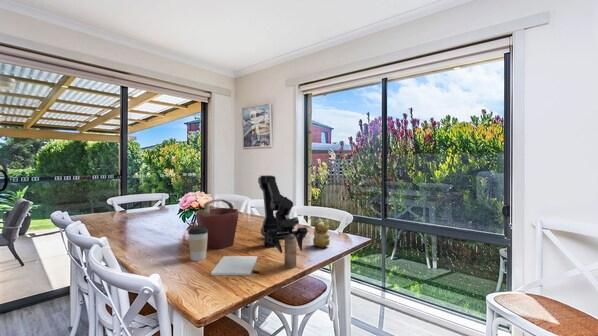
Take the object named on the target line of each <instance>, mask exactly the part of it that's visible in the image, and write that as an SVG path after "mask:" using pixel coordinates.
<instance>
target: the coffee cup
mask: <svg viewBox="0 0 598 336" xmlns="http://www.w3.org/2000/svg"><path fill="white" fill-rule="evenodd" d="M187 234H188V249H189V250H188V251H189V257H190V260H191V261H193V262H194V261H195V262H198V261H203V260H205V259H206V258H207V250H208V249H207V239H208V236H207V234H208V229H207V228H206V227H204V226H198V225H197V226H191V227H190V229H189V230H187Z"/></svg>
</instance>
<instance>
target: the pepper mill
mask: <svg viewBox="0 0 598 336" xmlns="http://www.w3.org/2000/svg"><path fill="white" fill-rule="evenodd" d="M296 267H297V238H296V237H294V235H293V234H288V235H287V237H285V239H284V268H286V269H294V268H296Z"/></svg>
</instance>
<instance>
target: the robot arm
mask: <svg viewBox="0 0 598 336" xmlns="http://www.w3.org/2000/svg"><path fill="white" fill-rule="evenodd" d="M257 179H258V180H257V182H258V184H259V188H260V190H261V191H262V194H263V206H264V207H263V208H264V214H265V217H264V219H263V221H262V226H261V228H260V234H261V236H262V237H264V238H263V245H262V247H263V248H276V249H277V251H278V252H280V254H282V253H283V249H282V246H281V243H280V239H279V237H285V236H287V235H288V234H293V235H294V236H295V235H296V244H297V245H298V249H299V250H300V251H302V250H303V240H304V238H306V236H307V234H308V232H309V231H308V228H307V227H306V226H305V227H301V226H300V227H298V228H297V230H294V229H295V227H296V226H297V225H298V224H299V223H300V221H299V217H298V216H294V217H292V218H290V216H289V217H288V214H289V215H291V211H292V209H293V207H294V202H293V201H292V200H291V199H289V198H288V197H286V196H284V195H282V194H281V192H280V190H279V187H278V185H277V184H278V183H277V181H276V179H277V178H276V176H275V175H259V177H258V178H257ZM275 213H276V214H275ZM274 214H275V215H276V216H275V215H274ZM279 231H280V233H278V232H279Z"/></svg>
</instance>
